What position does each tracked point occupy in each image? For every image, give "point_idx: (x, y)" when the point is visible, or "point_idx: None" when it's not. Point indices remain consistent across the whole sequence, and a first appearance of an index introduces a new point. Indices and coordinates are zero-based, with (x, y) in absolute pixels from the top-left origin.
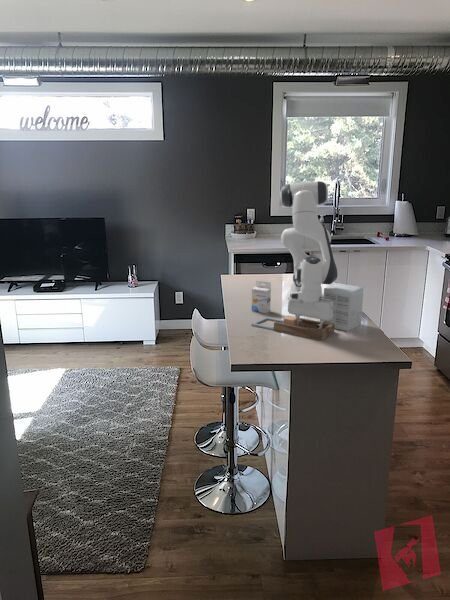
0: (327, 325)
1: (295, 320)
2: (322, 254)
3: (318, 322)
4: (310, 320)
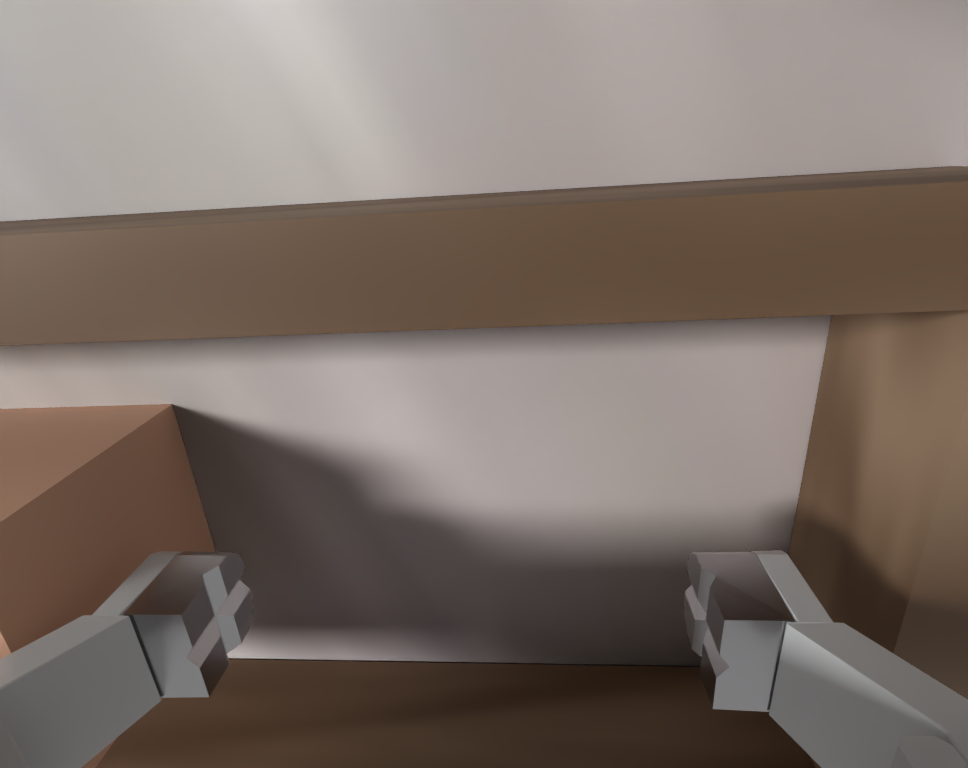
0: (875, 303)
1: None
2: None
3: (551, 322)
4: (237, 295)
